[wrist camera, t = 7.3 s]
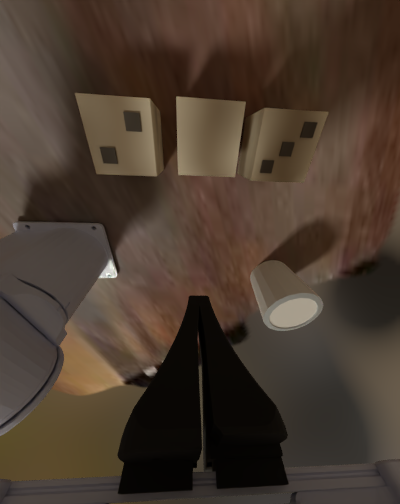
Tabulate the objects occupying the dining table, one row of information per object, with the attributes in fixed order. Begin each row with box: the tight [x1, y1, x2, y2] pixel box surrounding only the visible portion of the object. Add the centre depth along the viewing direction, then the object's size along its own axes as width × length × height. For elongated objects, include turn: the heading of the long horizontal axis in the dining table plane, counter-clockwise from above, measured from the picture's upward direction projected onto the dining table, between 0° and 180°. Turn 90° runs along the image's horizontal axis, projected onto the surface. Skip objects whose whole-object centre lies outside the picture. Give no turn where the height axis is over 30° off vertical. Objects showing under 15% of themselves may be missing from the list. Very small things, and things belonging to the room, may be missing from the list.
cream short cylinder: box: [250, 260, 323, 331], centre depth 22 cm, size 7×7×7 cm
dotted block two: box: [75, 93, 164, 176], centre depth 13 cm, size 4×5×5 cm
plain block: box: [176, 96, 246, 177], centre depth 14 cm, size 4×4×4 cm
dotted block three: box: [237, 108, 329, 183], centre depth 14 cm, size 4×5×5 cm
